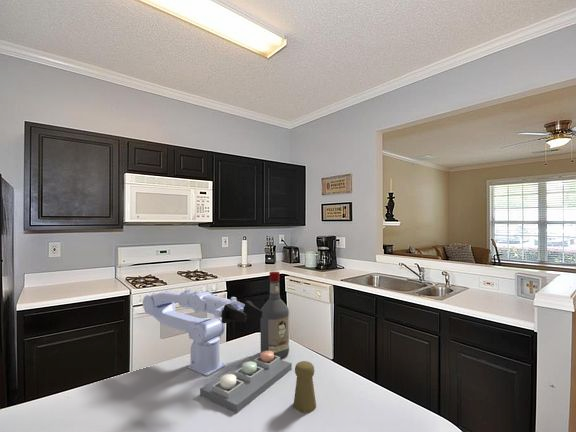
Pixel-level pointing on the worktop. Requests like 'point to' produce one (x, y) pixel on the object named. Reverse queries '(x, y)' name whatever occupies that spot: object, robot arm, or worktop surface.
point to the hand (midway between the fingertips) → (254, 316)
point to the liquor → (275, 321)
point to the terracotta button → (267, 356)
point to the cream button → (228, 381)
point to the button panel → (246, 383)
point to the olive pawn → (304, 387)
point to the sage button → (249, 367)
